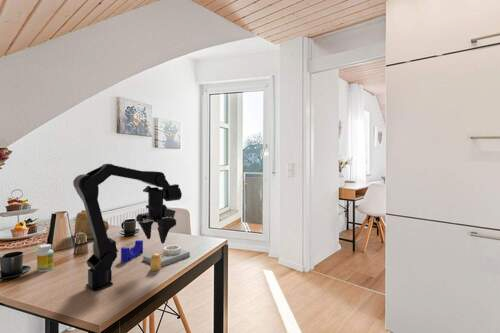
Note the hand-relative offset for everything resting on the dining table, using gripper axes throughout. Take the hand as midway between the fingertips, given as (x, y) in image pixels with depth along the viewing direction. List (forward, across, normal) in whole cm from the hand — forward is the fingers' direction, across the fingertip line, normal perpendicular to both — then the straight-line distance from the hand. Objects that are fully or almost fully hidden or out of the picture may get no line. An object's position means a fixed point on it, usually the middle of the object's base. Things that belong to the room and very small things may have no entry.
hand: (155, 241), depth 114 cm
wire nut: (+11, 0, 0) cm, 11 cm away
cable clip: (+12, +20, -2) cm, 23 cm away
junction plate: (+11, +6, -10) cm, 16 cm away
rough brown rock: (+12, +65, -5) cm, 66 cm away
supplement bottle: (+12, +34, +27) cm, 45 cm away
